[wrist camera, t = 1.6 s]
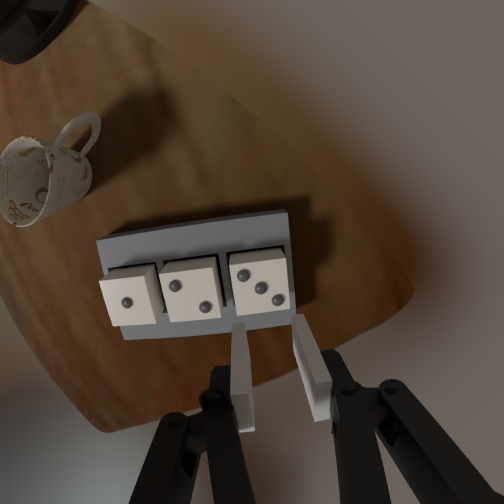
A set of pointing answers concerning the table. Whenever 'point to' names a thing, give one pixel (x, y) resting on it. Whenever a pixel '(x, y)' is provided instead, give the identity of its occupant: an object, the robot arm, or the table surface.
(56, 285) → the table surface
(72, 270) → the table surface
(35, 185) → the mug
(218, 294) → the white die
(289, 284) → the board
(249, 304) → the white block with dots
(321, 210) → the table surface
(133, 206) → the table surface
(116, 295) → the white block
